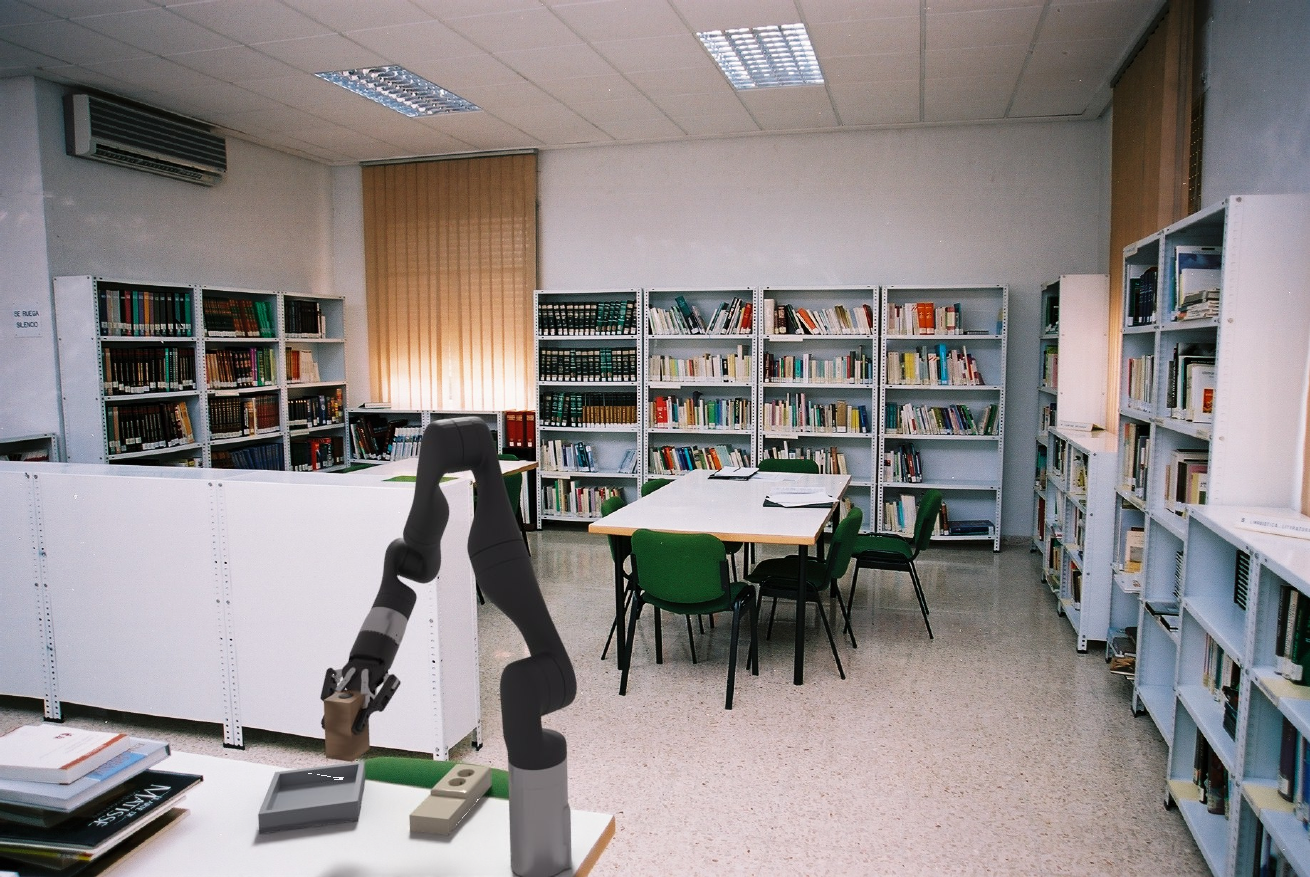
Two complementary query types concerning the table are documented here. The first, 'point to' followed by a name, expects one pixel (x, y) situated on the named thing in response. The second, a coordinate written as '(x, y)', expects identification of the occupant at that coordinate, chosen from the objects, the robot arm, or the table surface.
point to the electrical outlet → (451, 799)
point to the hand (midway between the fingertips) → (340, 730)
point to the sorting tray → (312, 797)
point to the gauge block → (344, 726)
